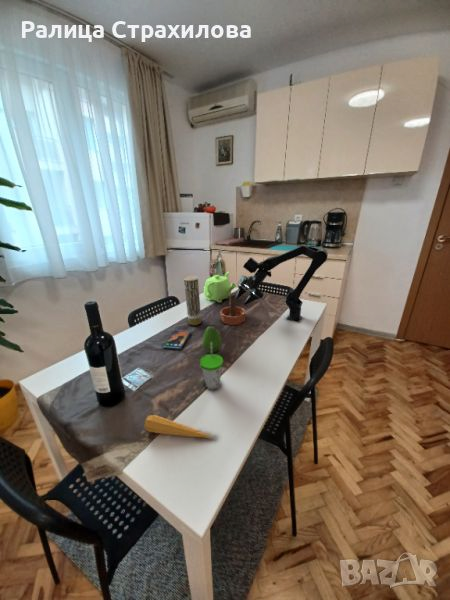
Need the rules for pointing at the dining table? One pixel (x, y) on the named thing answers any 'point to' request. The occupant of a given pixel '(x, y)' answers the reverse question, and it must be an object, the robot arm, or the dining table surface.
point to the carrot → (170, 427)
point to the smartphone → (177, 339)
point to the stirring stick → (232, 305)
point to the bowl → (234, 319)
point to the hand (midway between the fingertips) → (240, 301)
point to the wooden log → (192, 300)
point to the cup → (211, 369)
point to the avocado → (211, 339)
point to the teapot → (218, 288)
